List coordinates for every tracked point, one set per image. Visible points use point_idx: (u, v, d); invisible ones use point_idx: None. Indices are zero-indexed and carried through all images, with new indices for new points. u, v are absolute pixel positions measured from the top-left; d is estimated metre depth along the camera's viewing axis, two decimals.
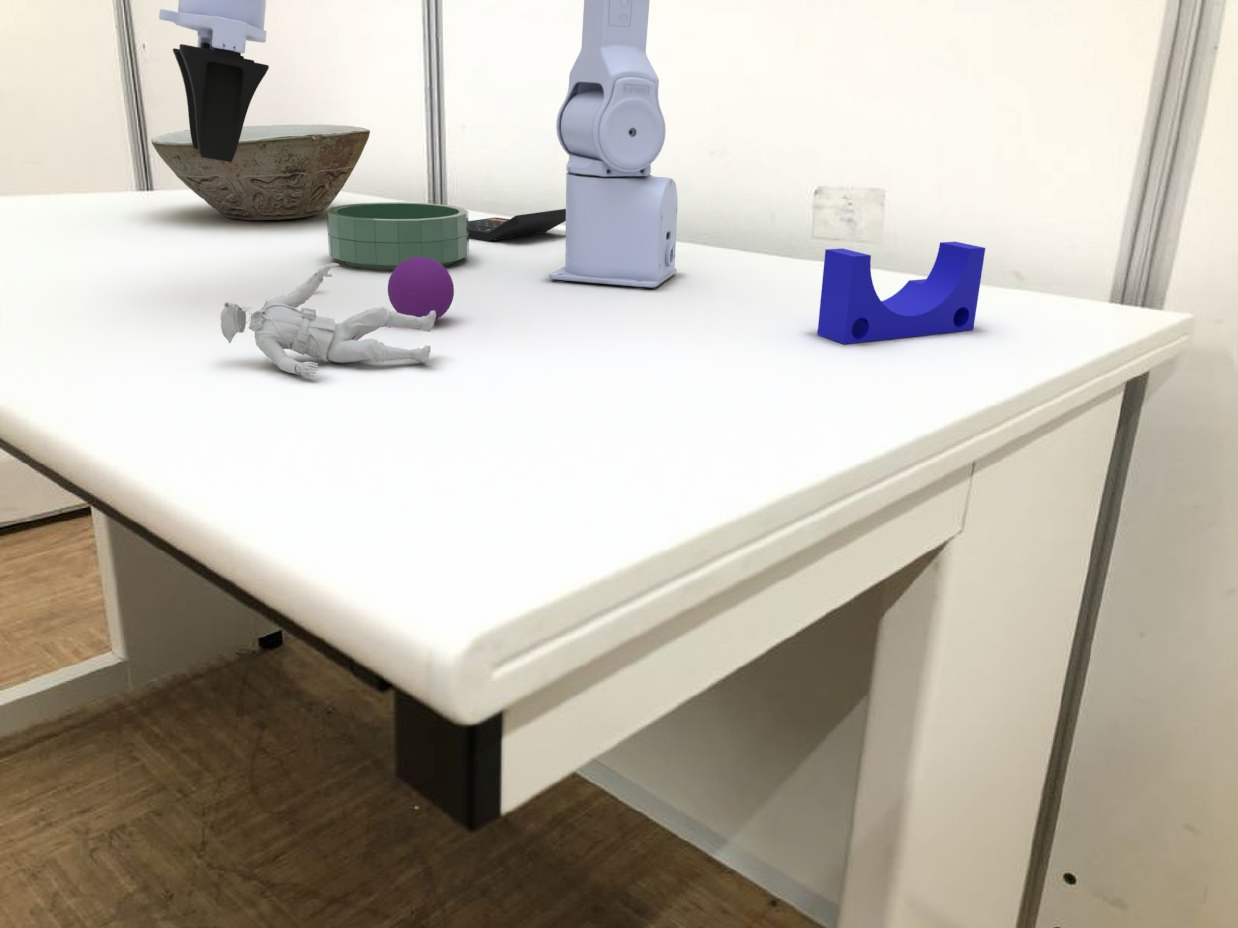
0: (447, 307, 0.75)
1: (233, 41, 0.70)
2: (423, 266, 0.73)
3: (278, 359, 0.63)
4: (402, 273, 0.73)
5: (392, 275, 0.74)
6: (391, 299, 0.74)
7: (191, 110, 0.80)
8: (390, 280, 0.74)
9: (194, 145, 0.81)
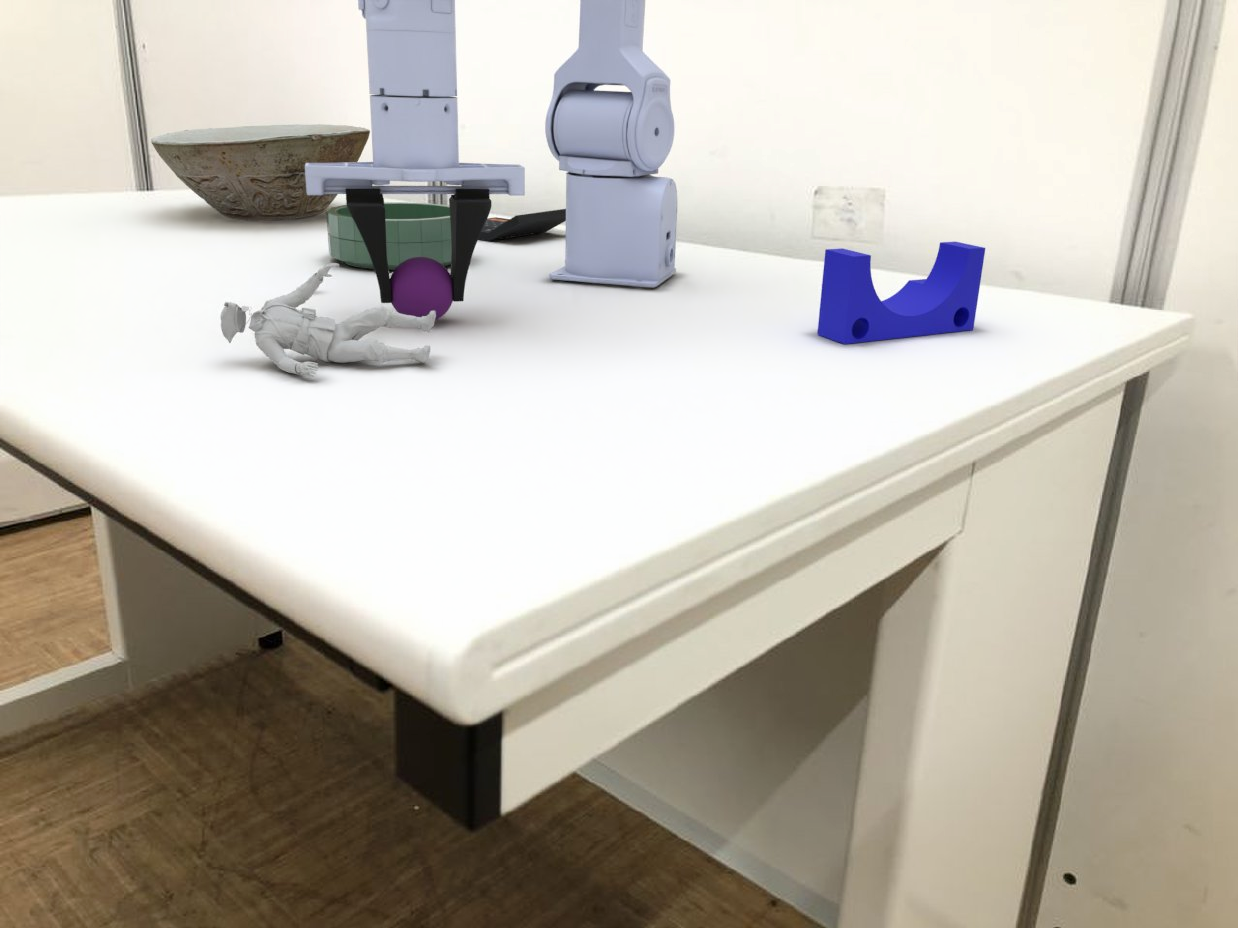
0: (447, 307, 0.75)
1: None
2: (423, 265, 0.73)
3: (278, 359, 0.63)
4: (403, 273, 0.73)
5: (392, 275, 0.74)
6: None
7: (384, 264, 0.73)
8: (390, 280, 0.74)
9: (391, 299, 0.74)
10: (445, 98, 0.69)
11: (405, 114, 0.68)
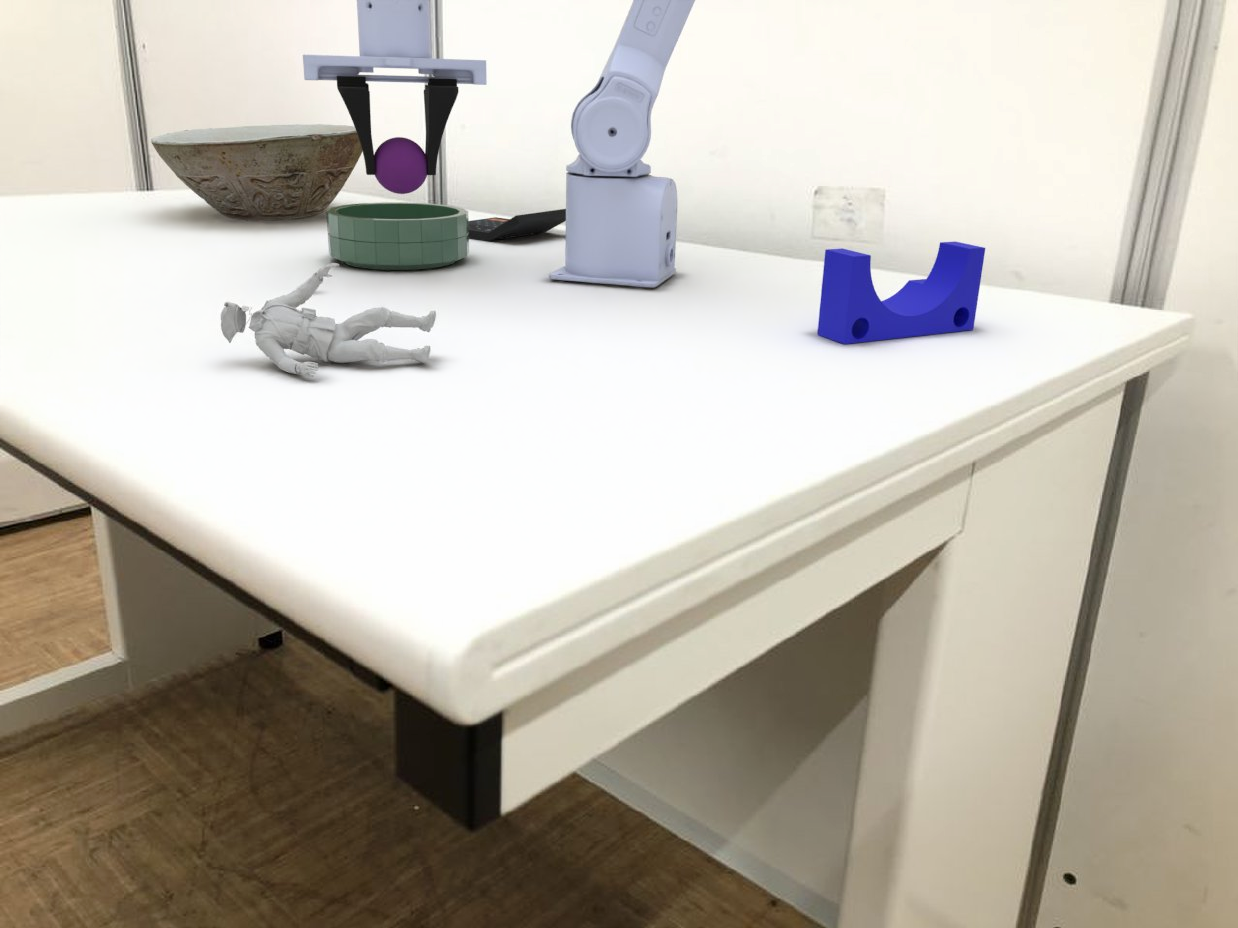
0: (422, 180, 0.90)
1: None
2: (402, 143, 0.88)
3: (278, 359, 0.63)
4: (384, 148, 0.88)
5: (376, 151, 0.88)
6: (375, 172, 0.89)
7: (369, 141, 0.87)
8: (374, 156, 0.88)
9: None
10: None
11: (386, 10, 0.83)
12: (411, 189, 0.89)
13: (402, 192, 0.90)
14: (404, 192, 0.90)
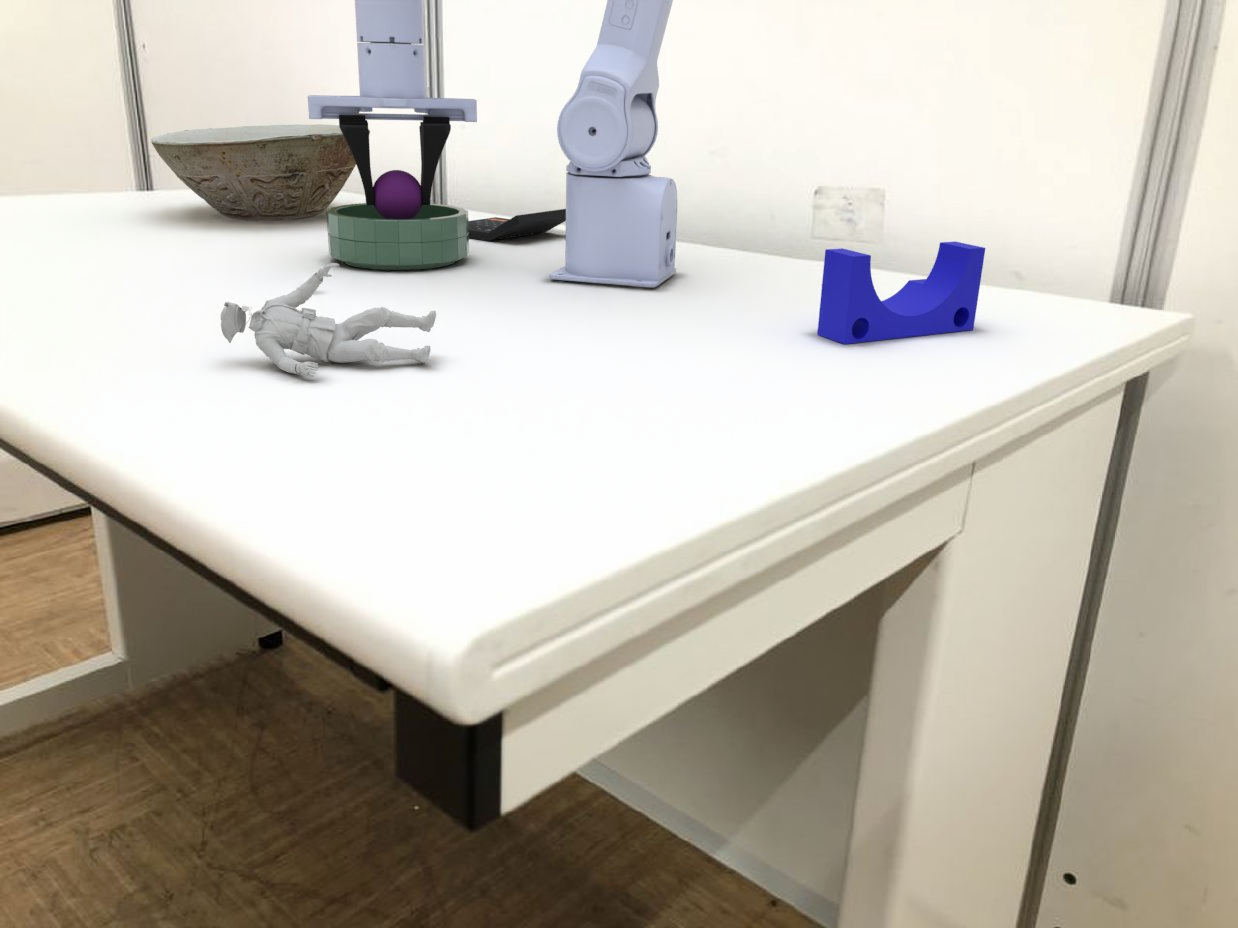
0: (418, 209, 0.97)
1: None
2: (399, 175, 0.95)
3: (278, 359, 0.63)
4: (383, 181, 0.95)
5: (375, 183, 0.96)
6: (374, 202, 0.96)
7: (368, 174, 0.95)
8: (373, 187, 0.96)
9: None
10: (414, 44, 0.91)
11: (383, 56, 0.90)
12: (407, 218, 0.97)
13: None
14: None
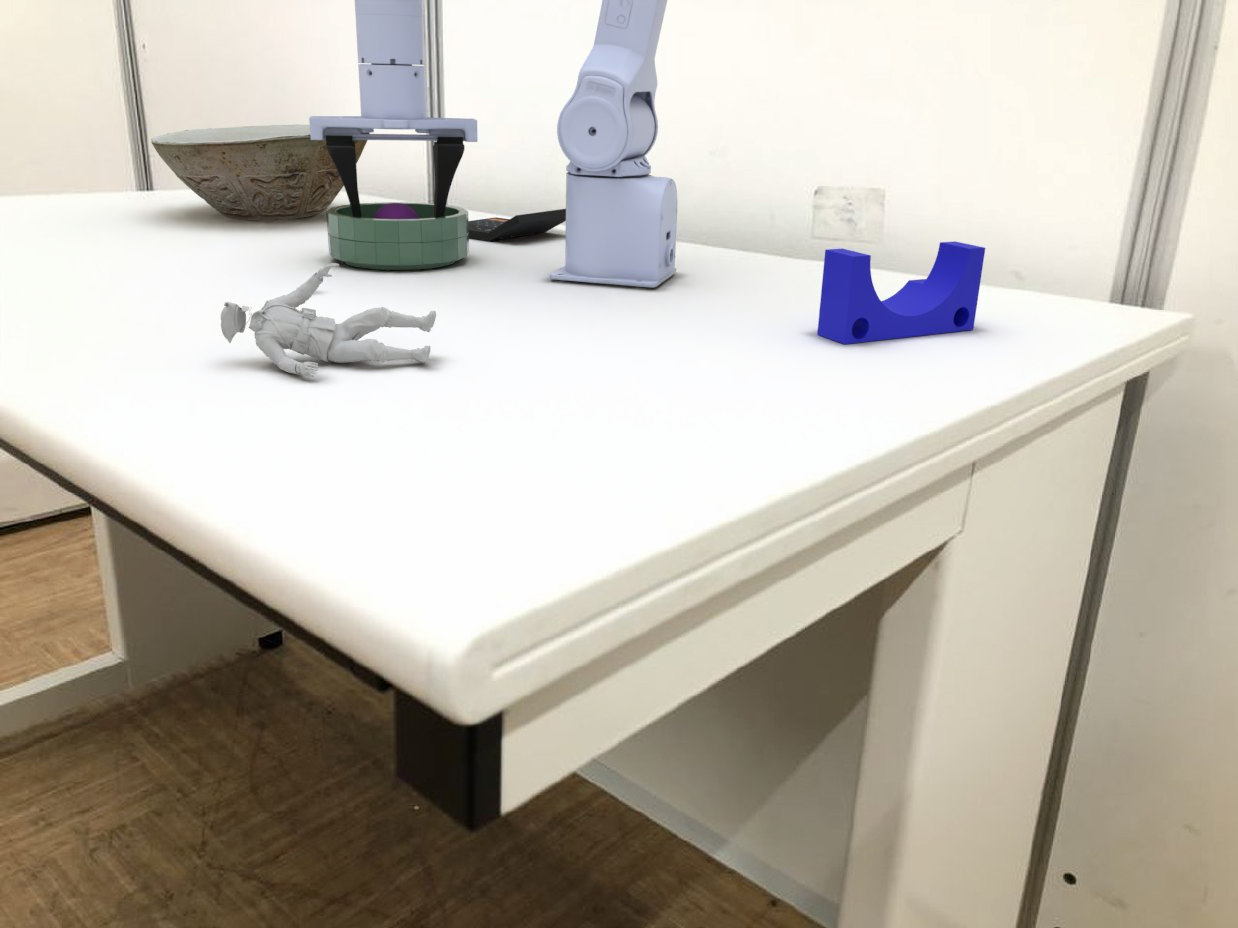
0: None
1: None
2: (396, 209, 0.96)
3: (278, 359, 0.63)
4: (380, 215, 0.96)
5: None
6: None
7: (356, 194, 0.95)
8: None
9: None
10: (415, 66, 0.92)
11: (384, 78, 0.91)
12: None
13: None
14: None
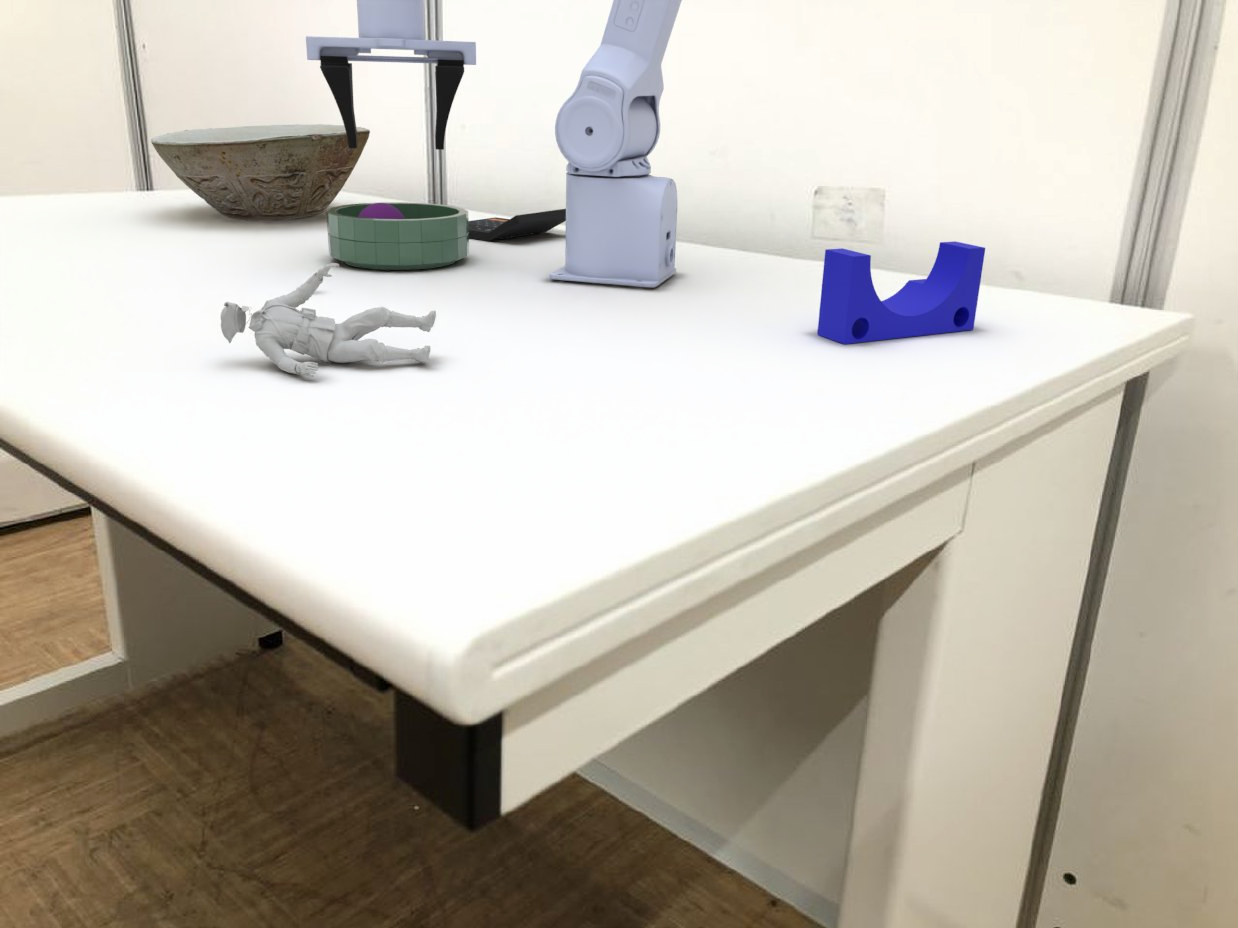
0: None
1: None
2: (368, 212, 0.96)
3: (278, 359, 0.63)
4: None
5: None
6: None
7: (350, 116, 0.94)
8: None
9: (356, 145, 0.95)
10: None
11: None
12: None
13: None
14: None
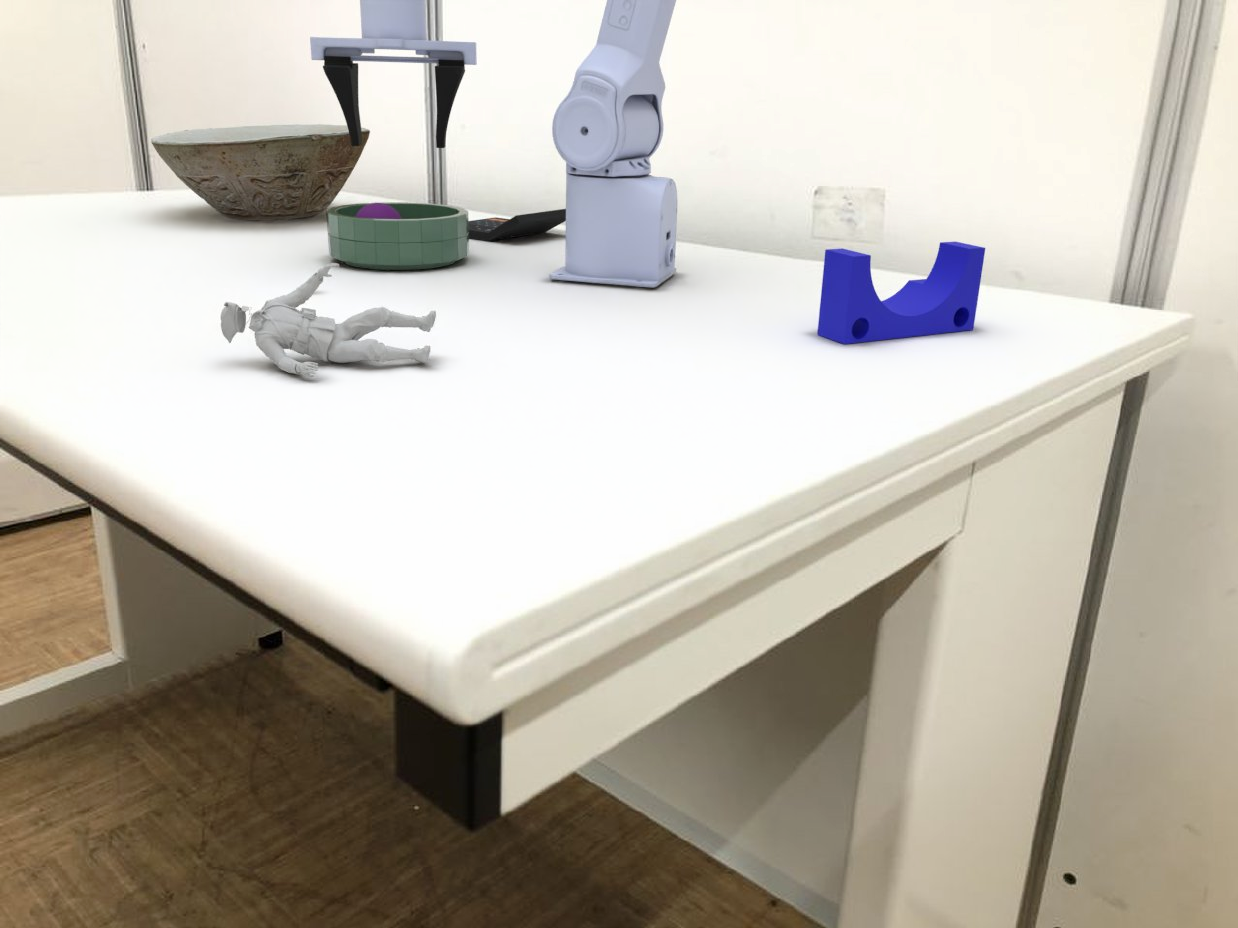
0: None
1: (476, 58, 0.97)
2: (363, 214, 0.96)
3: (278, 359, 0.63)
4: None
5: None
6: None
7: (352, 115, 0.96)
8: None
9: (358, 143, 0.97)
10: None
11: None
12: None
13: None
14: None
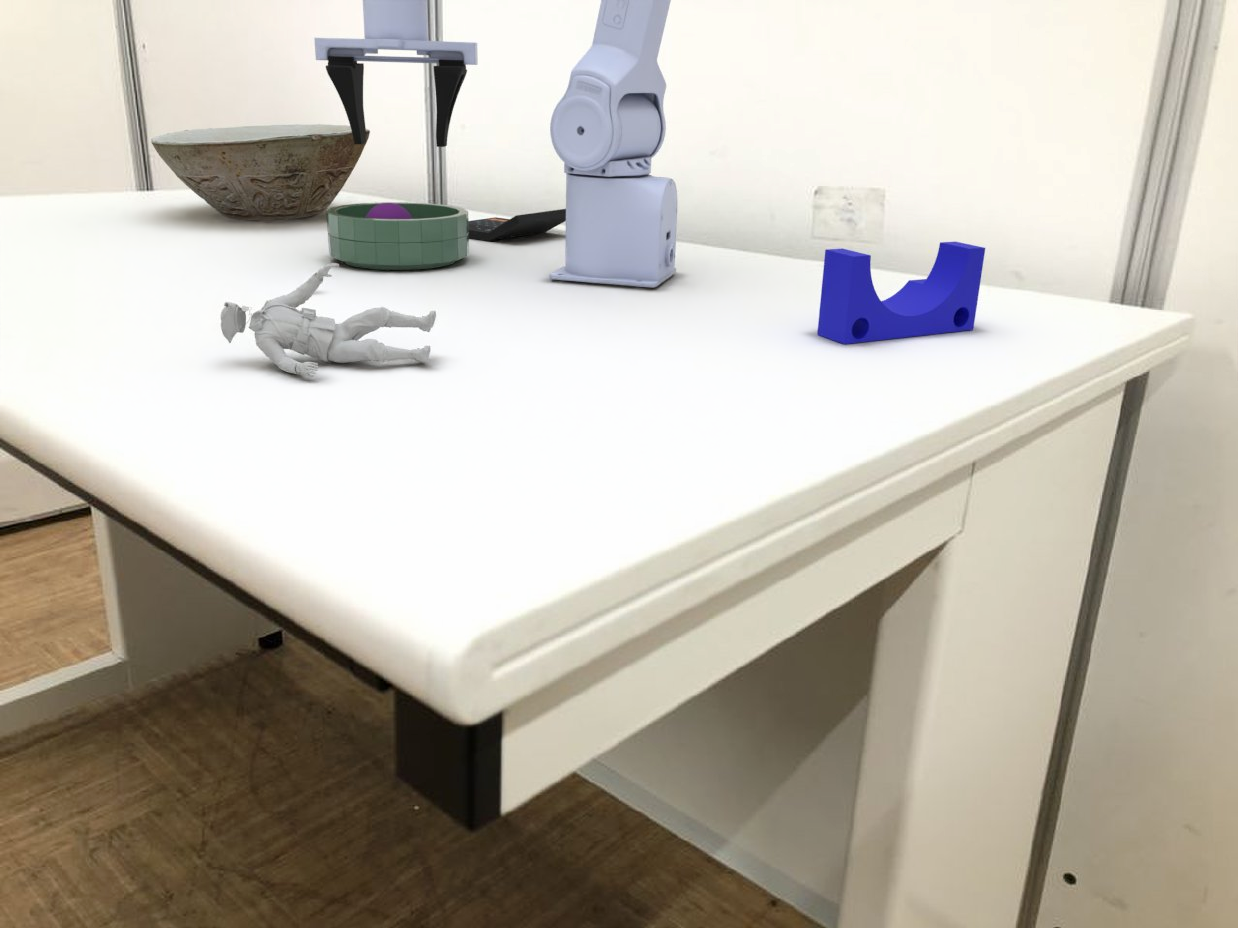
0: None
1: (476, 58, 0.98)
2: (382, 208, 0.96)
3: (278, 359, 0.63)
4: None
5: None
6: None
7: (355, 114, 0.98)
8: None
9: (361, 141, 1.00)
10: None
11: None
12: None
13: None
14: None
